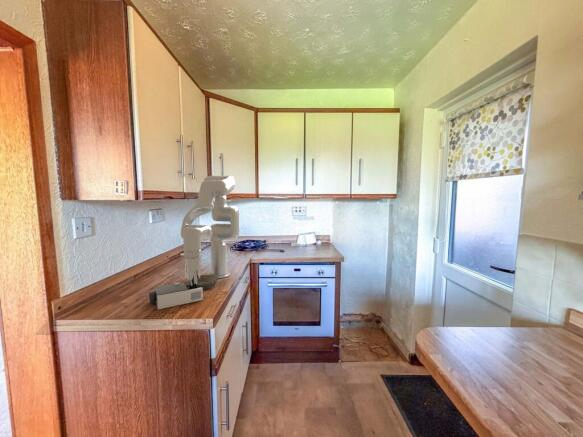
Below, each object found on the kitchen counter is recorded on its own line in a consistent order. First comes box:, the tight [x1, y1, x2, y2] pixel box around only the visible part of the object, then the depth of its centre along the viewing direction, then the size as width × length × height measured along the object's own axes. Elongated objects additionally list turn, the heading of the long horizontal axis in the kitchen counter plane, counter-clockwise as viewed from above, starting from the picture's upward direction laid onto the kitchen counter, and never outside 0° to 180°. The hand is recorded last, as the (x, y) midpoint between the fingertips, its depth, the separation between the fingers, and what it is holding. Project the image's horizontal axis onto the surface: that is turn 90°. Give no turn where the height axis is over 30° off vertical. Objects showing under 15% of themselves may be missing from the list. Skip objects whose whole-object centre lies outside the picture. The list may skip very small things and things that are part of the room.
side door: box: [157, 288, 204, 310], centre depth 104 cm, size 1×18×6 cm, turn 124°
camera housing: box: [148, 281, 188, 310], centre depth 108 cm, size 12×14×7 cm
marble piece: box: [183, 274, 218, 291], centre depth 129 cm, size 17×15×4 cm
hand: (193, 292), depth 111 cm, fingers closed
